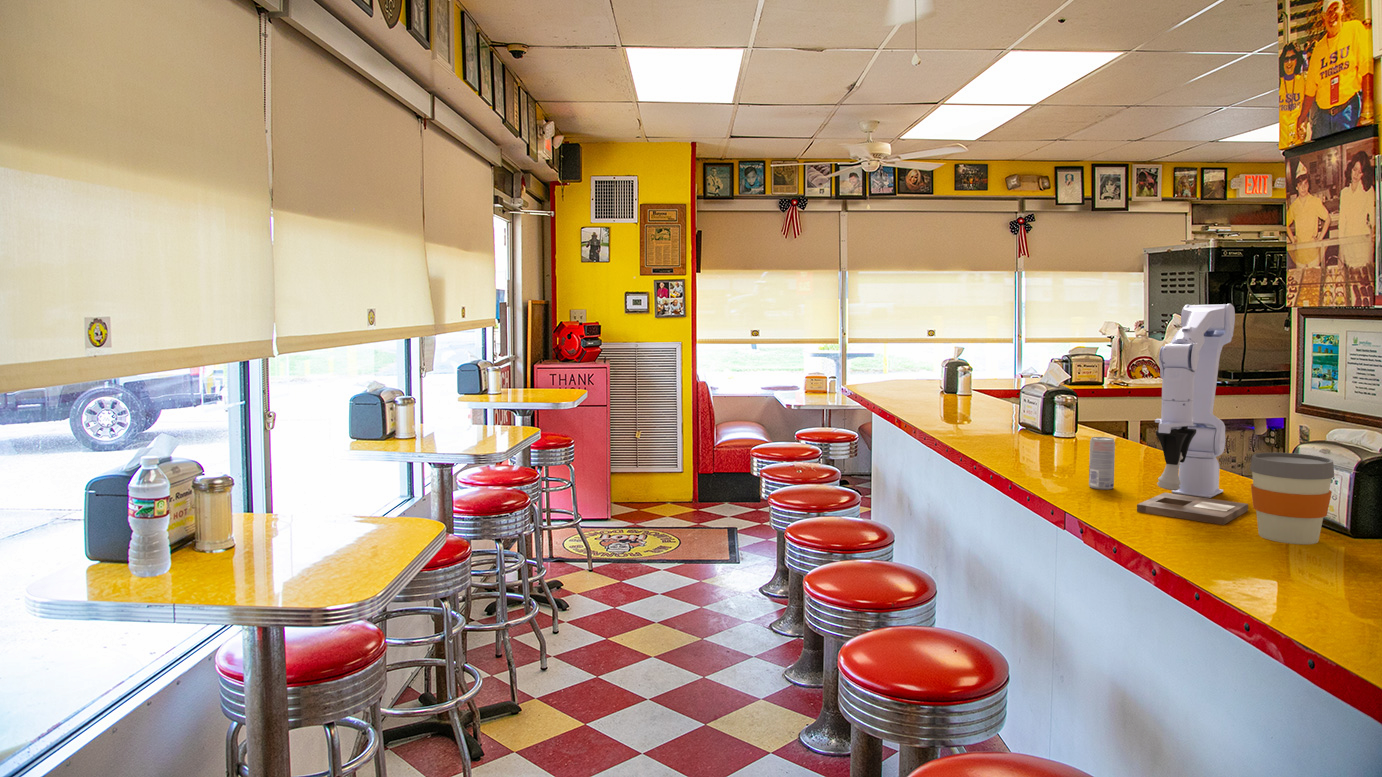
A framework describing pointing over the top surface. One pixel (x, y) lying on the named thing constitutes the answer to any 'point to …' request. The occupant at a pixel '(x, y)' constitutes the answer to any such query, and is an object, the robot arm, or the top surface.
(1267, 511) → the reusable coffee cup
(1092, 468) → the energy drink
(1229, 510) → the hole board
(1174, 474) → the rook chess piece
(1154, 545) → the top surface
